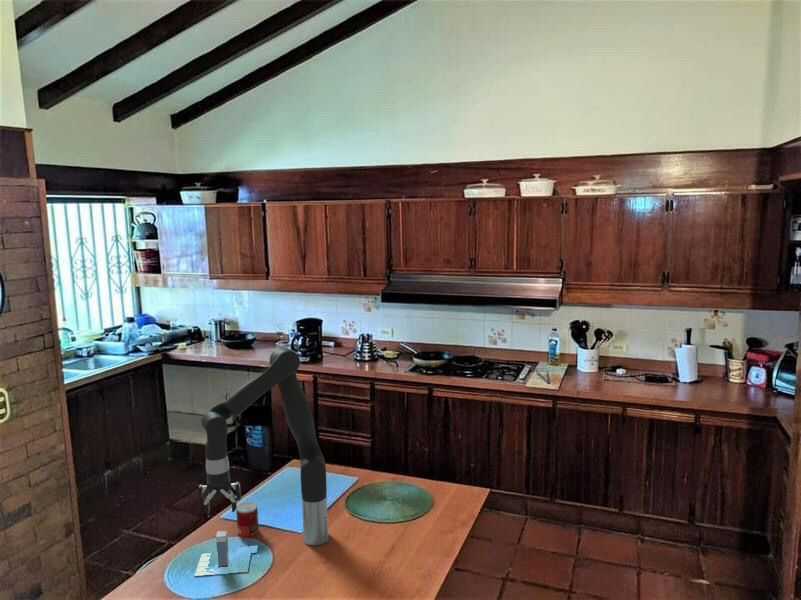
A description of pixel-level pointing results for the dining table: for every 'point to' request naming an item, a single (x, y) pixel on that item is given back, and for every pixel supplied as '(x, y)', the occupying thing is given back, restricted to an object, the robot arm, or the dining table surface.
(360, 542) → the dining table surface
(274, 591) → the dining table surface
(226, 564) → the grey rectangular block
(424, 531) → the dining table surface
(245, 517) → the canned food
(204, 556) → the notepad
